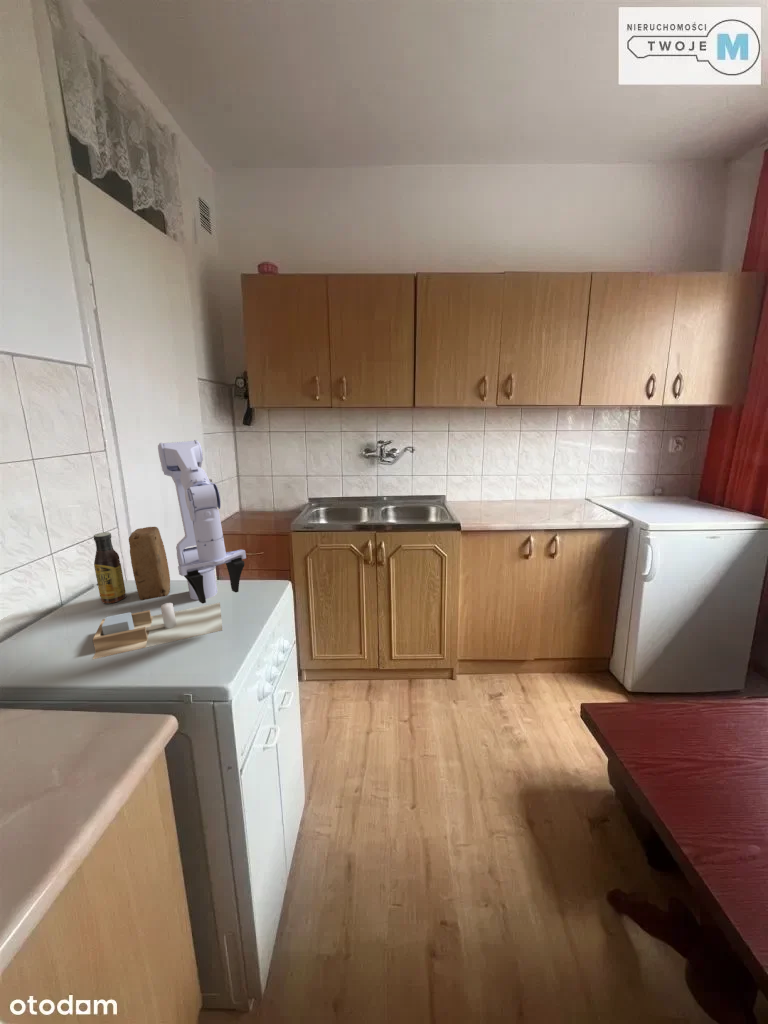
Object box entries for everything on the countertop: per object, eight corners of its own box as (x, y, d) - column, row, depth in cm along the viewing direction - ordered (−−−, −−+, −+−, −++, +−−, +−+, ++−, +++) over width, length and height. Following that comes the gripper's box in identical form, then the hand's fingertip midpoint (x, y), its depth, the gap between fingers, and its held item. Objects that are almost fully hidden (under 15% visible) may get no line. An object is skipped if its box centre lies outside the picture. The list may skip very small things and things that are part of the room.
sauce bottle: (96, 603, 119) (80, 536, 114) (115, 594, 125) (101, 530, 120) (114, 605, 117) (99, 538, 113) (132, 596, 123) (119, 531, 118)
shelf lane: (108, 630, 104) (105, 613, 103) (220, 607, 114) (218, 592, 112) (93, 665, 90) (89, 646, 89) (223, 635, 99) (220, 618, 98)
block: (166, 600, 119) (153, 533, 114) (137, 604, 118) (123, 536, 113) (174, 585, 129) (163, 522, 124) (148, 589, 128) (135, 525, 123)
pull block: (110, 634, 99) (105, 612, 98) (177, 620, 104) (173, 599, 103) (105, 644, 95) (100, 622, 93) (175, 629, 100) (172, 608, 99)
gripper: (182, 549, 86) (193, 611, 88) (248, 533, 96) (256, 590, 98) (170, 545, 91) (181, 604, 93) (234, 530, 101) (243, 584, 103)
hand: (219, 596), depth 96 cm, fingers open, 7 cm apart
